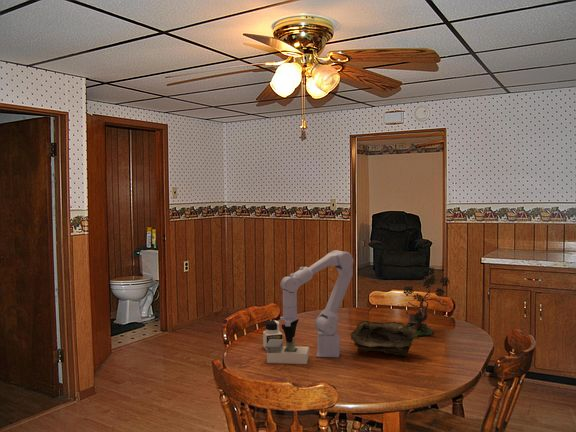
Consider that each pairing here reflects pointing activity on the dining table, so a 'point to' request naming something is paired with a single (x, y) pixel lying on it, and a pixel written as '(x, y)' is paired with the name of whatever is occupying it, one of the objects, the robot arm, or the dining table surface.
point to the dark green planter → (384, 337)
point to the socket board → (285, 353)
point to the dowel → (290, 346)
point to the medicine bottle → (271, 332)
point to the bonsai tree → (419, 318)
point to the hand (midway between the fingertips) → (290, 339)
